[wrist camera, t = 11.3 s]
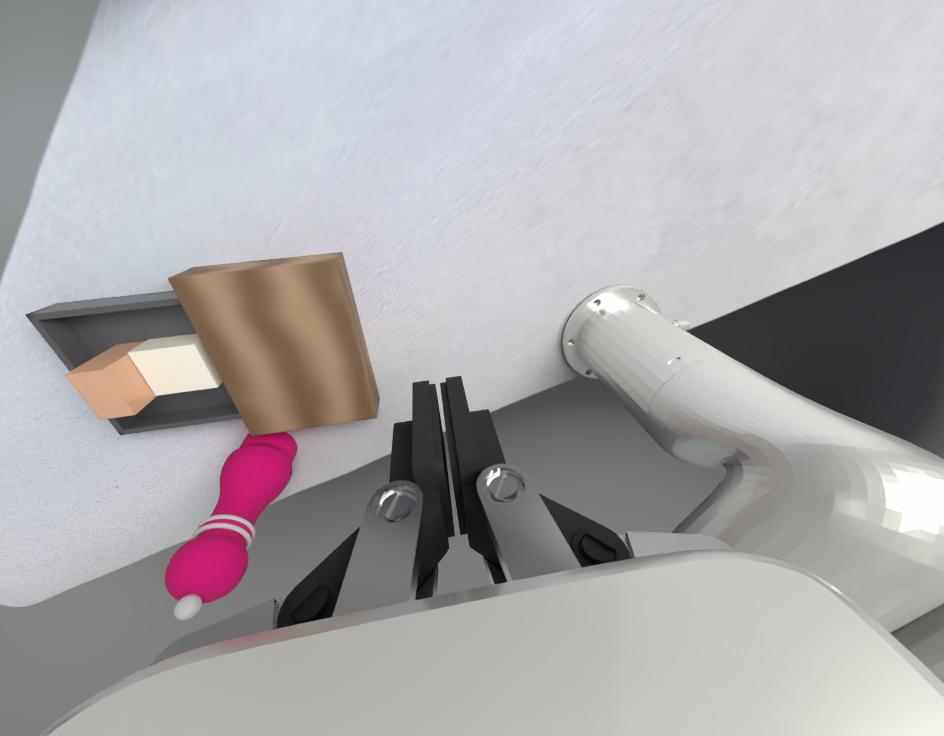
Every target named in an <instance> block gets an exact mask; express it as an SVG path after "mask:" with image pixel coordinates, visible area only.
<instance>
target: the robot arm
mask: <svg viewBox="0 0 944 736" xmlns="http://www.w3.org/2000/svg"><path fill="white" fill-rule="evenodd" d="M688 328H689V321H688V320H687V319H682V320H675V321H671V320H670V319H668V318H666V317H664V316H663V315H661V311H660V308H659V306H658V303H657V302H656V300H655V299H654V298H653V297H652V296H651V295H650V294H649V293H648V292H646V291H644V290H642V289H640V288H638V287H635V286H631V285H615V286H610V287H607V288H604V289H602V290H600V291H598V292H596V293H594V294H592V295H591V296H589V297H588V298H587V299H585V300H584V301H583V302H582V303H581V304H580V305H579V306H578V307H577V308H576V309H575V311H574V312H573V313H572V315H571V316H570V318H569V320H568V322H567V324H566V327H565V330H564V333H563V341H562V345H563V352H564V355H565V358H566V360H567V361H568V363H569V364H570V366H571V367H572V368H573V369H574V370H575V371H576V372H578V373H579V374H580V375H582V376H585V377H587V378H592V379H599V380H600V381H601V382H602V383H603V384H604V385H605V386H606V388H608V390H609V391H610V392H611V393H612V394H613V395H614V396H615V398H616V399H617V400H618V401H619V402H620V403H621V404H622V405H623V407H624V408H625V409H626V410H627V411H628V412H629V413H630V414H631V415H632V417H633V418H634V419H635V420H636V421H637V422H638V423H639V424H640V425H641V427H642V428H643V429H644V430H645V431H646V432H647V433H648V434H649V435H650V437H651V438H653V440H654V441H655V442H656V443H657V444H658V445H659V446H660V447H661V448H662V449H663V450H664V451H665V452H667V453H668V454H669V455H671V456H672V457H674V458H676V459H678V460H680V461H682V462H685V463H688V464H691V465H694V466H699V467H705V468H710V469H718V470H727V472H726V476H725V477H724V479H723V480H722V481H721V482H720V483H719V484H718V486H717V487H716V488H715V489H714V490H713V491H712V493H711V494H710V495H709V496H708V497H707V498H706V499H705V500H704V501H703V502H702V503H701V504H700V505H699V506H697V508H695V510H693V511H692V512H691V513H690V514H689V515H688V516H687V517H686V518H685V519H684V520H683V521H682V522H681V523H680V524H679V525H678V526H677V527H676V528H675V529H674V530H673V531H672V532H671V533H657V532H633V531H627V532H626V535H617V534H616V533H614V532H613V531H611V530H610V529H608V528H606V527H604V526H602V525H600V524H598V523H596V522H594V521H592V520H590V519H588V518H586V517H584V516H582V515H580V514H578V513H576V512H574V511H573V510H570V509H568V508H567V507H564V506H562V505H560V504H558V503H556V502H554V501H552V500H550V499H548V498H546V497H544V496H543V495H541V494H539V493H538V492H537V490H536V488H535V487H534V485H533V483H532V482H531V480H530V478H529V477H528V475H527V474H526V473H525V472H524V471H523V470H522V469H520V468H519V467H517V466H514V465H511V464H506V462H505V459H504V457H503V453H502V450H501V447H500V444H499V440H498V437H497V434H496V431H495V428H494V425H493V422H492V418H491V415H490V412H489V410H488V409H486V410H480V411H473V412H469V408H468V404H467V400H466V395H465V391H464V387H463V382H462V378H461V376H457V377H450V378H446V382H444V383H440V386H441V394H442V402H443V410H444V418H445V426H446V433H447V442H448V450H449V458H450V465H451V473H452V480H453V486H454V493H455V500H456V507H457V514H458V521H459V528H460V534H461V535H463V534H468V540H469V545H470V547H471V548H472V549H474V550H475V551H477V552H478V553H480V554H481V555H483V559H484V564H485V567H486V569H487V572H488V575H489V578H490V581H491V584H492V585H490V586H485V587H481V588H475V589H470V590H465V591H460V592H455V593H450V594H445V595H440V596H436V594H437V583H438V563H439V561H440V560H441V559H442V558H443V556H444V555H445V554H446V552H447V550H448V549H449V543H448V537H452V536H455V533H454V524H453V515H452V506H451V498H450V490H449V481H448V472H447V462H446V453H445V445H444V438H443V432H442V425H441V418H440V412H439V405H438V399H437V392H436V386H435V384H430V385H429V381H421V382H414V383H413V414H412V421H406V422H400V423H395V424H394V429H393V441H392V454H391V467H390V480H389V483H388V484H385V485H383V486H382V487H380V488H379V489H378V490H376V492H375V493H374V494H373V495H372V497H371V498H370V500H369V502H368V504H367V507H366V510H365V513H364V517H363V520H362V523H361V526H360V527H359V528H358V529H357V530H356V531H355V532H354V533H353V534H351V535H350V536H349V537H348V538H347V539H346V540H345V541H344V542H343V543H342V544H341V545H340V546H339V547H338V548H337V549H335V550H334V551H333V552H332V553H331V554H330V555H329V556H328V557H327V558H326V559H325V560H324V561H323V562H321V563H320V564H319V565H318V566H317V567H316V568H315V569H314V570H313V571H312V572H311V573H310V574H309V575H308V576H306V577H305V578H304V579H303V580H302V581H301V582H300V583H299V584H298V585H297V586H296V587H295V588H294V589H293V590H292V591H291V592H290V594H289V595H288V596H287V597H286V599H283V600H281V601H279V602H277V601H276V600H275V599H272V600H269V601H267V602H264V603H262V604H260V605H257V606H255V607H252V608H250V609H248V610H245V611H243V612H240V613H238V614H235V615H233V616H231V617H229V618H226V619H223V620H221V621H218V622H216V623H214V624H211V625H209V626H207V627H204V628H201V629H199V630H197V631H194V632H192V633H189V634H187V635H185V636H183V637H181V638H180V639H178V640H176V641H174V642H172V643H171V644H170V645H169V646H168V647H167V648H165V649H164V650H163V651H162V652H161V653H160V654H159V655H158V656H157V657H156V658H155V659H154V661H153V662H152V663H151V665H150V666H149V667H147V668H145V669H143V670H140V671H139V672H136V673H135V674H132V675H130V676H128V677H127V678H125V679H123V680H121V681H119V682H117V683H116V684H114V685H112V686H110V687H109V688H107V689H105V690H103V691H102V692H100V693H98V694H96V695H94V696H93V697H91V698H90V699H88V700H87V701H85V702H84V703H82V704H81V705H79V706H78V707H76V708H75V709H73V710H72V711H70V712H69V713H68V714H66V715H65V716H63V717H62V718H61V719H59V720H58V721H56V722H55V723H54V724H53V725H52V726H51V727H50V728H48V729H47V730H46V731H45V732H43V733H42V734H41V735H40V736H944V460H943V459H941V458H940V457H938V456H936V455H934V454H932V453H930V452H928V451H926V450H924V449H922V448H920V447H918V446H915V445H913V444H911V443H909V442H907V441H904V440H902V439H900V438H897V437H895V436H893V435H890V434H888V433H885V432H883V431H881V430H878V429H876V428H873V427H871V426H869V425H866V424H864V423H861V422H859V421H856V420H854V419H852V418H849V417H847V416H844V415H842V414H840V413H837V412H835V411H833V410H830V409H828V408H826V407H824V406H822V405H819V404H817V403H815V402H813V401H811V400H809V399H807V398H804V397H802V396H800V395H798V394H796V393H794V392H792V391H790V390H788V389H787V388H785V387H783V386H781V385H779V384H777V383H775V382H773V381H771V380H770V379H768V378H766V377H764V376H762V375H760V374H759V373H757V372H755V371H753V370H752V369H750V368H748V367H747V366H745V365H743V364H741V363H740V362H738V361H736V360H734V359H732V358H730V357H729V356H727V355H725V354H723V353H722V352H720V351H718V350H717V349H715V348H713V347H712V346H710V345H708V344H706V343H705V342H703V341H701V340H700V339H698V338H696V337H694V336H693V335H691V334H689V333H688V332H686V331H685V330H688Z"/></svg>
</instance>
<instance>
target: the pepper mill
mask: <svg viewBox="0 0 944 736" xmlns="http://www.w3.org/2000/svg"><path fill="white" fill-rule="evenodd" d="M296 452H297V445H296V442H295V440H294V439H293V438H292V437H291V436H290V435H289V434H287V433H286V432H277V433H270V434H264V435H257V436H251V434H250V433H249V434H248V435H247V436H246V438H245V440H244V441H243V443H242V444H241V446H240V448H239V449H237V450H235V451H234V452H232V453H231V454H230V456H229V457H228V458H227V460H226V461H225V463H224V465H223V467H222V471H221V475H220V496H219V500H218V503H217V505H216V507H215V509H214V511H213V513H212V514H211V516H210V517H208V518H206V519H204V520H203V521H202V522H201V523H200V524H199V526H198V528H197V530H196V531H195V532H194V534H193V536H192V540H190V541H189V542H187V543H186V544H184V545H183V546H181V547H180V548H179V549H178V550H177V551H176V553H175V554H174V555H173V557H172V558H171V560H170V562H169V564H168V566H167V569H166V574H165V585H166V588H167V590H168V592H169V593H170V595H172V596H173V597H174V598H175V599H177V600H179V601H178V603H177V604H176V606H175V609H174V615H175V617H176V618H177V619H180V620H187V619H190V618H192V617H193V616H195V615H196V614H197V613H198V611H199V610H200V608H201V606H202V603H209V602H212V601H215V600H217V599H220V598H222V597H223V596H225V595H227V594H228V593H229V592H231V591H232V590H233V589H234V588H235V587H236V586H237V584H238V583H239V582H240V580H241V579H242V577H243V575H244V573H245V571H246V569H247V566H248V554H247V550H248V549H249V547H250V546H251V542H252V540H253V539H254V537H255V528H254V524H255V522H256V520H257V518H258V516H259V514H260V513H261V512H262V511H263V510H264V508H265V507H266V506H267V505H268V504H269V503H270V502H272V501H273V500H274V499H275V498H276V497H277V496H278V495H279V494H280V493H281V492H282V491H283V489H284V488H285V487H286V486H287V484H288V482H289V480H290V478H291V475H292V465H291V464H292V462H293V460H294V457H295V455H296Z"/></svg>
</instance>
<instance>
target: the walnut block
mask: <svg viewBox="0 0 944 736" xmlns="http://www.w3.org/2000/svg"><path fill="white" fill-rule="evenodd" d="M168 280H169V282H170V284H171V286H172V288H173V289H174V291H175V293H176V295H177V297H178V299H179V301H180V303H181V304H182V306H183V308H184V310H185V312H186V314H187V316H188V318H189V319H190V321H191V323H192V325H193V327H194V329H195V331H196V333H197V335H198V336H199V338H200V340H201V342H202V344H203V346H204V348H205V350H206V351H207V353H208V355H209V357H210V359H211V361H212V363H213V365H214V366H215V368H216V370H217V372H218V374H219V376H220V378H221V380H222V381H223V383H224V385H225V387H226V389H227V391H228V393H229V395H230V397H231V398H232V400H233V402H234V404H235V406H236V408H237V410H238V412H239V413H240V415H241V417H242V419H243V421H244V423H245V425H246V427H247V428H248V430H249V432H250V434H251V436H257V435H264V434H270V433H277V432H284V431H291V430H298V429H304V428H311V427H318V426H325V425H332V424H338V423H345V422H352V421H359V420H365V419H372V418H377V413H378V406H379V400H380V397H379V394H378V390H377V386H376V382H375V378H374V374H373V370H372V366H371V362H370V359H369V355H368V351H367V347H366V343H365V339H364V335H363V331H362V328H361V324H360V320H359V316H358V312H357V308H356V304H355V300H354V296H353V293H352V289H351V285H350V281H349V277H348V273H347V269H346V265H345V261H344V258H343V254H342V252H339V253H329V254H320V255H310V256H300V257H290V258H280V259H270V260H261V261H251V262H241V263H231V264H221V265H211V266H202V267H193V268H191V269H188V270H186V271H184V272H182V273H179V274H177V275H175V276H172V277H170V278H168Z"/></svg>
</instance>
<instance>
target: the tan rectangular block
mask: <svg viewBox="0 0 944 736" xmlns="http://www.w3.org/2000/svg"><path fill="white" fill-rule="evenodd" d="M143 342H145V341H143ZM143 342H134V343H126V344H117V345H115V346H113V347H112V348H110V349H108V350H106V351H105V352H103V353H101V354H100V355H98V356H96V357H94V358H93V359H91V360H89V361H87V362H86V363H84V364H82V365H81V366H79V367H77V368H75V369H74V370H72V371H70V372H68V373H67V374H65V376H66V377H67V378H68V380H69V381H70V382H71V383H72V385H73V386H74V387H75V388H76V390H77V391H78V392H79V393H80V395H81V396H82V397H83V398H84V400H85V401H86V402H87V403H88V404H89V406H90V407H91V408H92V409H93V411H94V412H95V413H96V414H97V416H98V417H99V418H100V419H101V420H103V419H110V418H117V417H125V416H132V415H136V414H137V413H138V412H139V411H140V410H142V409H143V408H144V407H145V406H146V405H147V404H148V403H150V402H151V401H152V400H153V399H154V398H155V397H156V395H155V394H154V392H153V391H152V389H151V388H150V386H149V385H148V383H147V382H146V380H145V379H144V377H143V376H142V374H141V373H140V371H139V370H138V368H137V367H136V365H135V364H134V362H133V361H132V359H131V358H130V356H129V355H128V352H129V351H131V350H132V349H134V348H135V347H137V346H139V345H140V344H142V343H143Z"/></svg>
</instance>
